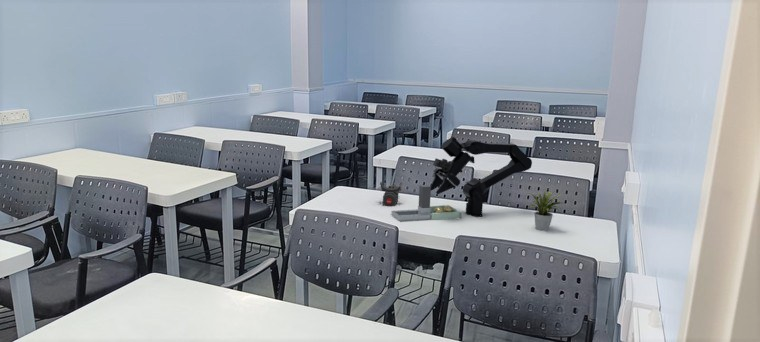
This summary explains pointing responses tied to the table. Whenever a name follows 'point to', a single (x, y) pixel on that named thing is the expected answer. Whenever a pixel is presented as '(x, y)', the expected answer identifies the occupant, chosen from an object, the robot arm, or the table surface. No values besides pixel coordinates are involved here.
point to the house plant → (544, 211)
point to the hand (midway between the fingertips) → (433, 191)
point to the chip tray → (444, 213)
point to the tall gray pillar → (424, 199)
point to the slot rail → (410, 215)
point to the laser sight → (390, 194)
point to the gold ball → (448, 209)
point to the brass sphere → (438, 210)
